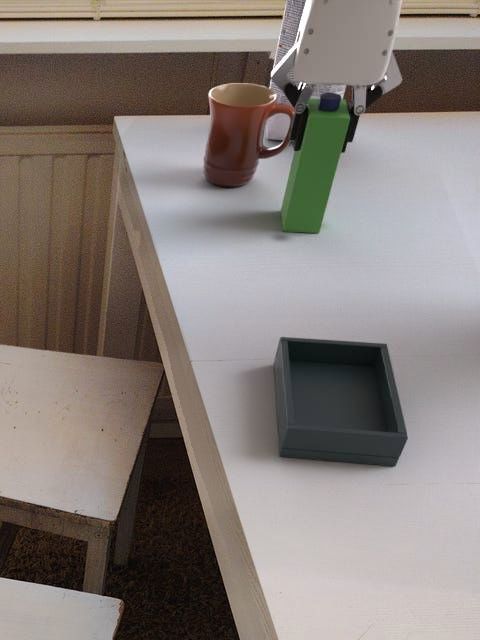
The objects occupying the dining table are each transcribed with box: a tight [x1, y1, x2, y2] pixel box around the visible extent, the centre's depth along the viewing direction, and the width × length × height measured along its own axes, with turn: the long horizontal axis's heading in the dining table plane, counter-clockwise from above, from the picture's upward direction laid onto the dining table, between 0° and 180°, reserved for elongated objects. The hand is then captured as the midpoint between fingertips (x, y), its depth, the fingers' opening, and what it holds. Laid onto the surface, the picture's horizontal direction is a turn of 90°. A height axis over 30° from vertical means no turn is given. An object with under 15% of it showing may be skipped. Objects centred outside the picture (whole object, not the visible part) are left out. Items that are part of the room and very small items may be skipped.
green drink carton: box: [280, 93, 350, 234], centre depth 100 cm, size 6×4×14 cm
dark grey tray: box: [272, 336, 409, 467], centre depth 79 cm, size 15×10×3 cm
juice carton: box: [265, 0, 347, 142], centre depth 114 cm, size 9×10×27 cm
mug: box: [202, 82, 295, 188], centre depth 110 cm, size 12×9×10 cm
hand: (318, 145), depth 99 cm, fingers closed on green drink carton, 4 cm apart
